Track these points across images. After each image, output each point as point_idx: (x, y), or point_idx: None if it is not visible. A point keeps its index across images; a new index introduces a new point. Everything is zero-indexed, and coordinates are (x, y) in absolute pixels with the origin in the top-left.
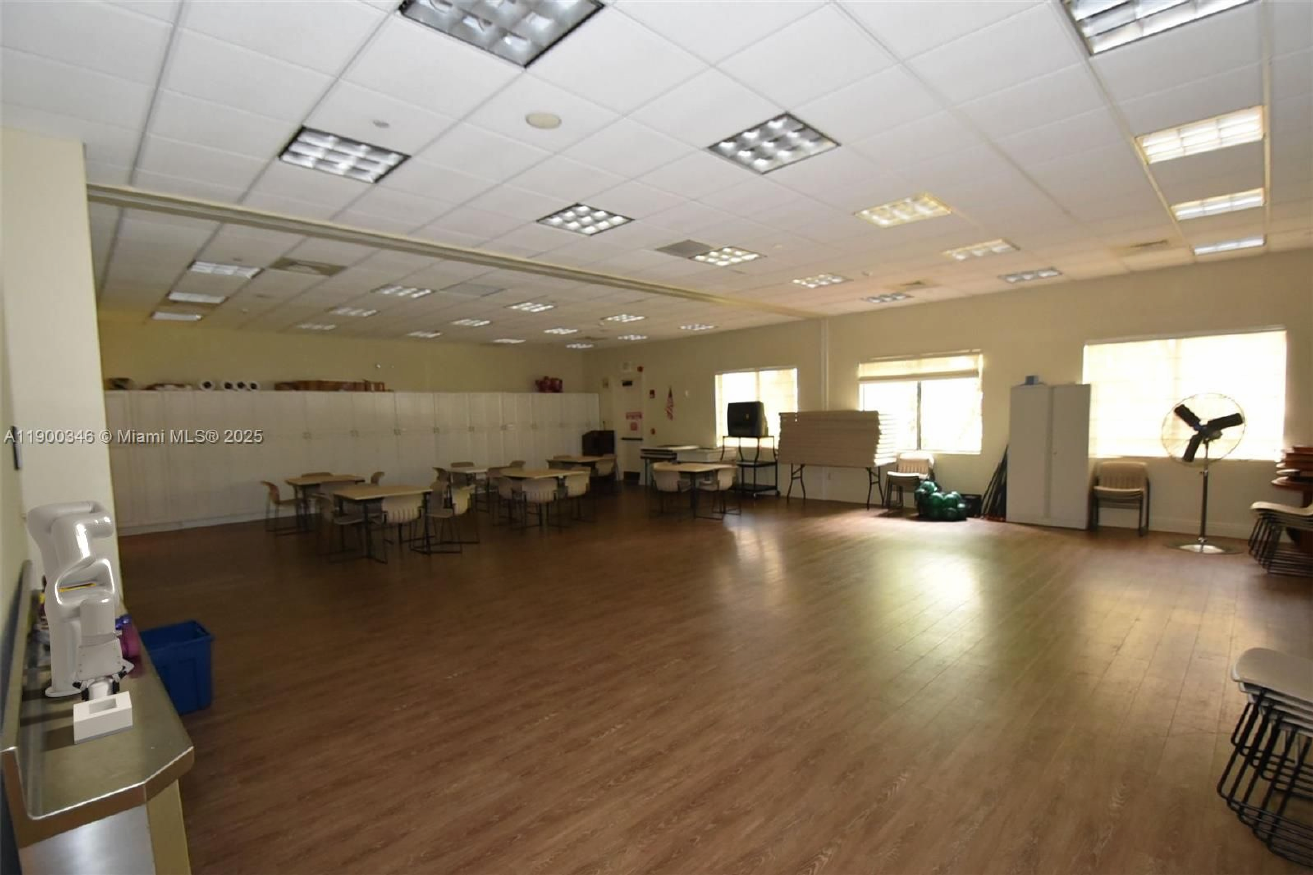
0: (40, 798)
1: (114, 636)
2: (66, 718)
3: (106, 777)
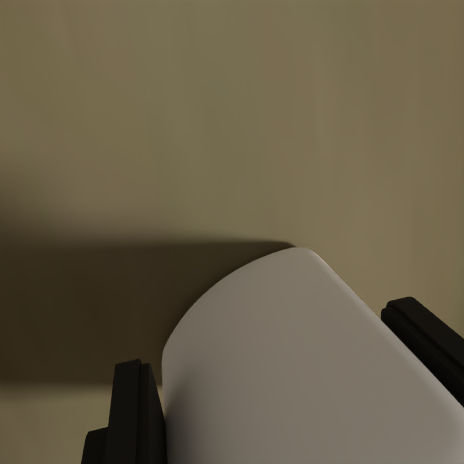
0: None
1: None
2: (14, 414)
3: None
